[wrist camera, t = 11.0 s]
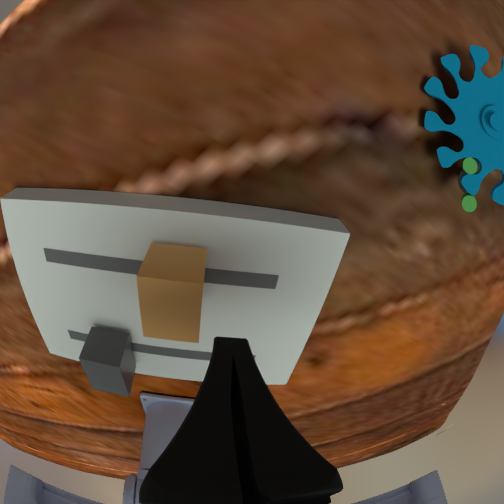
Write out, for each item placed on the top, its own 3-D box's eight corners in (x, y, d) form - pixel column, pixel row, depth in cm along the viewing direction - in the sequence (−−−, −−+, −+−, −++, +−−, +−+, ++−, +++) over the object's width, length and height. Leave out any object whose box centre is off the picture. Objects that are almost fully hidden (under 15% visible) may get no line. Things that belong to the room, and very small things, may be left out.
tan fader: (201, 305, 17) (198, 343, 14) (153, 299, 16) (143, 336, 14) (207, 248, 15) (203, 283, 12) (151, 242, 14) (136, 276, 12)
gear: (441, 16, 8) (576, 104, 4) (447, 45, 12) (551, 112, 8) (392, 165, 15) (515, 254, 11) (408, 160, 19) (503, 227, 15)
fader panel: (282, 366, 24) (285, 384, 23) (57, 337, 21) (50, 353, 19) (338, 218, 17) (350, 234, 15) (16, 187, 14) (-1, 199, 12)
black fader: (136, 365, 20) (129, 396, 17) (102, 359, 19) (93, 388, 17) (129, 333, 18) (119, 367, 15) (91, 326, 17) (78, 358, 15)
